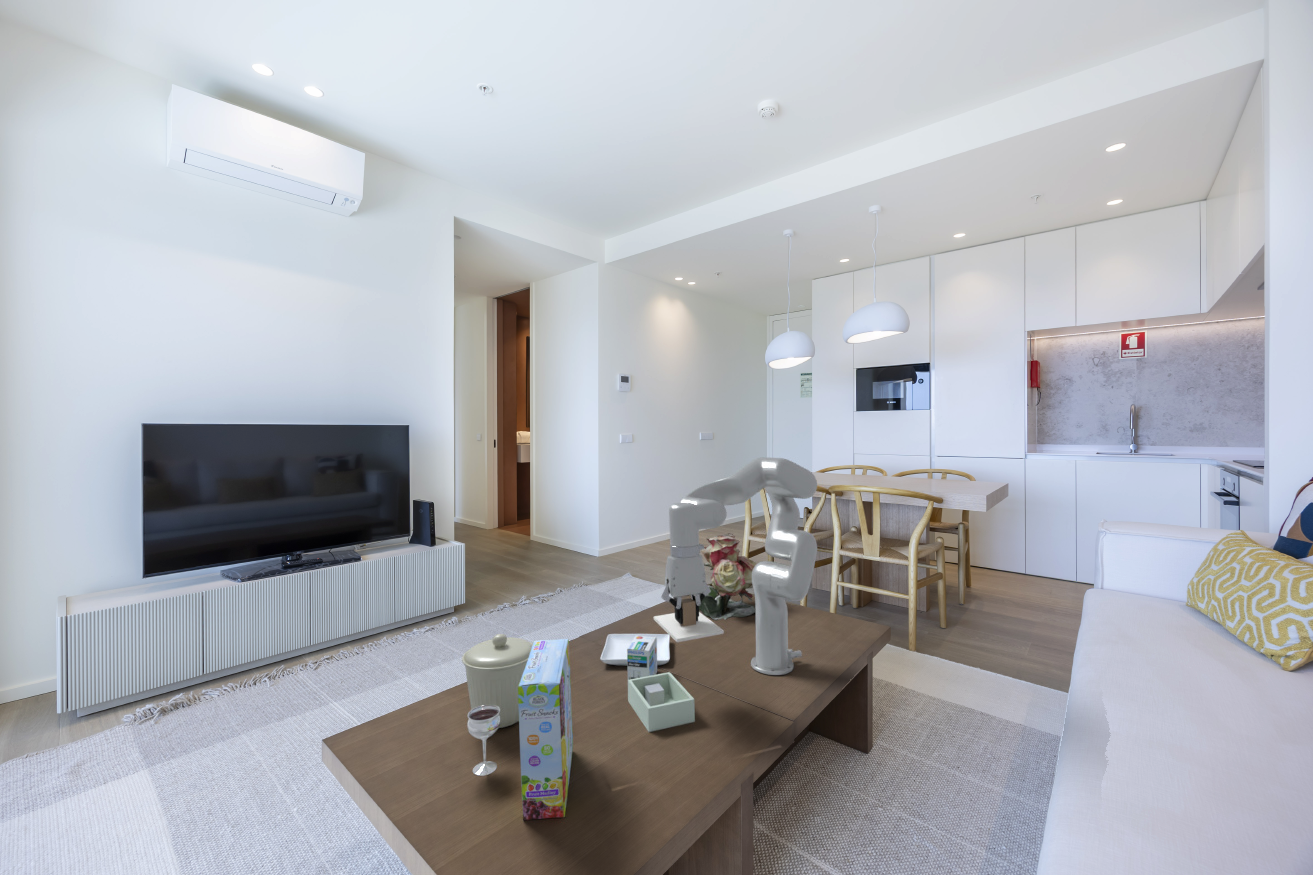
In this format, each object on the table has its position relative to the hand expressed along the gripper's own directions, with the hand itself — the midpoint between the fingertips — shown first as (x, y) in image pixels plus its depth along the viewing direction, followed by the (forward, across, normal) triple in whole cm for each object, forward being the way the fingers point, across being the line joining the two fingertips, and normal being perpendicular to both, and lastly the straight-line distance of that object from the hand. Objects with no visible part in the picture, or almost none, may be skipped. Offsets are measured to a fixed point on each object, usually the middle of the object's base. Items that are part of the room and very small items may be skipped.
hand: (687, 620), depth 140 cm
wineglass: (+21, +51, +8) cm, 56 cm away
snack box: (+22, +39, +18) cm, 48 cm away
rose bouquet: (+25, -45, -65) cm, 83 cm away
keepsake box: (+22, +8, 0) cm, 24 cm away
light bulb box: (+23, +7, -18) cm, 30 cm away
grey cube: (+22, +9, -4) cm, 24 cm away
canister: (+22, +47, -12) cm, 53 cm away
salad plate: (+23, +3, -36) cm, 43 cm away
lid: (+2, 0, 0) cm, 2 cm away
